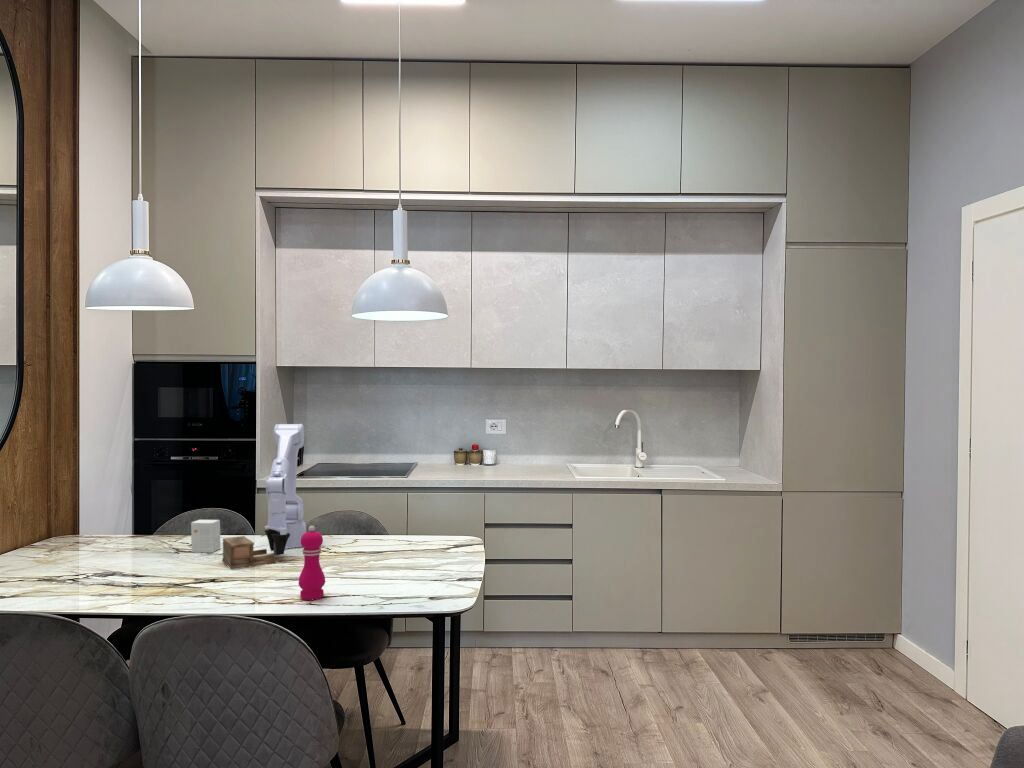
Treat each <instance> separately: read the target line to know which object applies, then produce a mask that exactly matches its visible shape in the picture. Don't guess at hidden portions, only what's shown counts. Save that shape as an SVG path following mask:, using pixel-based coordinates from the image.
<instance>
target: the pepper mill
mask: <svg viewBox="0 0 1024 768" xmlns="http://www.w3.org/2000/svg"><path fill="white" fill-rule="evenodd" d="M323 542H324V539H323V535H322V534H321V533H320V532H319V531H316V527H315V526H314V525H310V526H308V531H306V533H304V534H303V535H302V537H301V545H302V546H303V547H302V548H303V549H302V555H303V557H304V558H303V559H304V563H303V568H302V570H301V572H300V575H299V577H298V586H299V588H300V589H301V590H300V596H299V597H301V598H302V599H301V598H300V599H301V600H303V599H306V600H305V601H313V600H312V599H317V600H319V599H318V598H320V599H322V598H323V597H324V596H323V595H324V593H325V592H324V588H323V587H324V585H325V584H326V576H325V573H324V571H323V568H322V567H321V564H320V555H321V554H322V548H321V546H322V545H323ZM321 597H322V598H321Z"/></svg>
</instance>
